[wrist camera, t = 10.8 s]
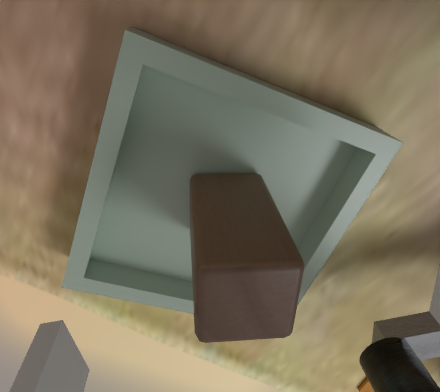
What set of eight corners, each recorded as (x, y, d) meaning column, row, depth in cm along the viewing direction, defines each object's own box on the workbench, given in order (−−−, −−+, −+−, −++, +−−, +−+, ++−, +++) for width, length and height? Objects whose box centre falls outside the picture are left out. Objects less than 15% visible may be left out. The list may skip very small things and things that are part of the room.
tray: (132, 26, 16) (124, 29, 14) (377, 127, 19) (403, 142, 17) (73, 259, 21) (61, 287, 19) (271, 303, 25) (280, 331, 23)
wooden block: (189, 232, 20) (195, 347, 13) (189, 171, 19) (195, 268, 12) (255, 230, 21) (294, 341, 14) (261, 170, 19) (310, 263, 12)
